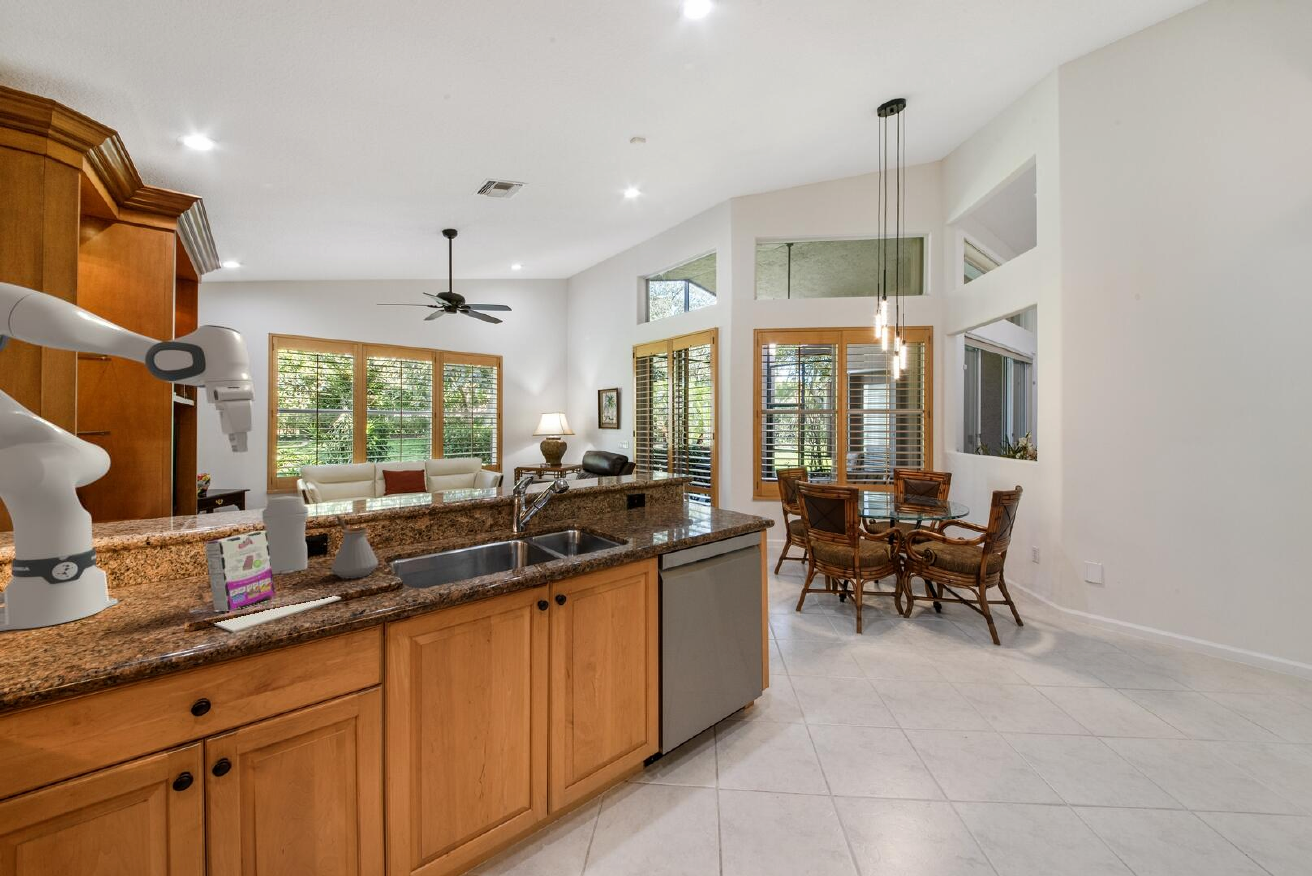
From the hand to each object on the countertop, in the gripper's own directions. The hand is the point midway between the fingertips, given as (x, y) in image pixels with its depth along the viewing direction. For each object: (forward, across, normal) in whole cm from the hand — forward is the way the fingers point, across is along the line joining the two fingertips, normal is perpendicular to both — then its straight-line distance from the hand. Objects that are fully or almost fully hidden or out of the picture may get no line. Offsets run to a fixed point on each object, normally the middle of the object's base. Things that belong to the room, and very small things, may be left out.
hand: (240, 452), depth 121 cm
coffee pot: (+38, -11, +22) cm, 45 cm away
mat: (+37, +10, +1) cm, 38 cm away
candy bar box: (+36, +2, -4) cm, 36 cm away
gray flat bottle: (+36, -23, +9) cm, 44 cm away
